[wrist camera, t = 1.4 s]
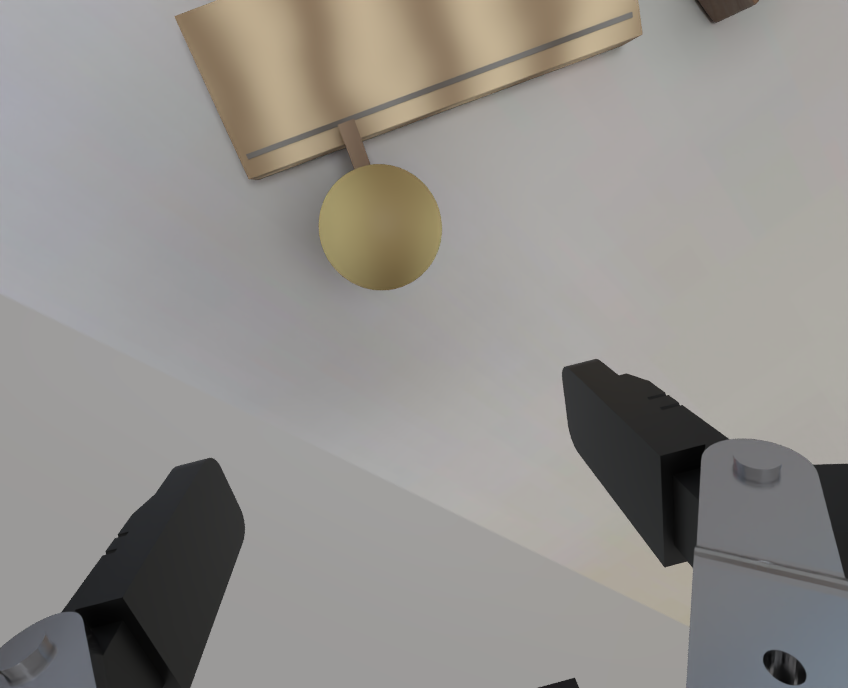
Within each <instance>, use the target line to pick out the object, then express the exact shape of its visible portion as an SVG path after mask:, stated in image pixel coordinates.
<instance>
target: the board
mask: <svg viewBox="0 0 848 688" xmlns="http://www.w3.org/2000/svg"><path fill="white" fill-rule="evenodd" d="M175 19H176V21H177V23H178V25H179V27H180V30H181V32H182V34H183V36H184V38H185V41H186V43H187V45H188V47H189V49H190V52H191V54H192V56H193V58H194V60H195V62H196V65H197V67H198V69H199V71H200V73H201V76H202V78H203V80H204V82H205V84H206V87H207V89H208V91H209V93H210V95H211V98H212V100H213V102H214V104H215V106H216V108H217V111H218V113H219V115H220V117H221V119H222V122H223V124H224V126H225V128H226V130H227V133H228V135H229V137H230V139H231V141H232V144H233V146H234V148H235V150H236V152H237V154H238V157H239V159H240V161H241V163H242V165H243V168H244V170H245V172H246V174H247V176H248V179H256V180H259V179H261V178H264V177H267V176H270V175H272V174H275V173H278V172H280V171H283V170H286V169H289V168H291V167H294V166H297V165H299V164H302V163H305V162H308V161H310V160H313V159H316V158H318V157H321V156H324V155H327V154H329V153H332V152H335V151H337V150H340V149H343V148H346V146H345V143H344V140H343V138H342V135H341V132H340V129H339V127H338V124H341V123H344V122H346V121H349V120H352V119H354V120H355V123H356V126H357V128H358V131H359V134H360V137H361V140H362V141H365V140H367V139H370V138H373V137H375V136H378V135H381V134H384V133H386V132H389V131H392V130H394V129H397V128H400V127H403V126H405V125H408V124H411V123H413V122H416V121H419V120H422V119H424V118H427V117H430V116H432V115H435V114H438V113H441V112H443V111H446V110H449V109H451V108H454V107H457V106H460V105H462V104H465V103H468V102H470V101H473V100H476V99H479V98H481V97H484V96H487V95H489V94H492V93H495V92H498V91H500V90H503V89H506V88H508V87H511V86H514V85H517V84H519V83H522V82H525V81H527V80H530V79H533V78H536V77H538V76H541V75H544V74H546V73H549V72H552V71H555V70H557V69H560V68H563V67H565V66H568V65H571V64H574V63H576V62H579V61H582V60H584V59H587V58H590V57H593V56H595V55H598V54H601V53H603V52H606V51H609V50H612V49H614V48H617V47H620V46H622V45H624V44H626V43H628V42H629V41H631V40H633V39H635V38H637V37H638V36H640V35H642V26H641V19H640V11H639V4H638V0H217V1H214V2H211V3H209V4H206V5H203V6H201V7H198V8H195V9H193V10H190V11H187V12H185V13H182V14H180V15H177V16H175Z"/></svg>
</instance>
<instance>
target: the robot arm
mask: <svg viewBox="0 0 848 688" xmlns="http://www.w3.org/2000/svg"><path fill="white" fill-rule="evenodd" d="M562 380H563V388H564V396H565V404H566V412H567V420H568V427H569V432H570V435H571V439H572V441H573V444H574V446H575V448H576V450H577V452H578V453H579V454H580V456H581V457H582V458H583V460H584V461H585V462H586V464H587V465H588V466H589V468H590V469H591V470H592V472H593V473H594V474H595V476H596V477H597V478H598V480H599V481H600V482H601V484H602V485H603V486H604V488H605V489H606V490H607V492H608V493H609V494H610V496H611V497H612V498H613V500H614V501H615V502H616V504H617V505H618V506H619V507H620V509H621V510H622V511H623V513H624V514H625V515H626V517H627V518H628V519H629V521H630V522H631V523H632V525H633V526H634V527H635V529H636V530H637V531H638V533H639V534H640V535H641V537H642V538H643V539H644V541H645V542H646V543H647V545H648V546H649V547H650V549H651V550H652V551H653V553H654V554H655V555H656V557H657V558H658V559H659V561H660V562H661V563H662V564H663V566H664V567H668V566H671V565H675V564H679V563H683V562H687V561H688V563H689V564H690V565H691V566H692V567H693V580H692V597H691V614H690V631H689V632H690V633H689V649H688V666H687V683H686V688H848V464H822V465H813V464H812V463H811V462H810V461H809V460H807V459H806V458H805V457H804V456H802V455H801V454H799V453H797V452H795V451H793V450H792V449H789V448H787V447H784V446H782V445H779V444H776V443H772V442H768V441H763V440H756V439H728V438H727V437H726V436H724V435H723V434H721V433H720V432H719V431H717V430H716V429H715V428H713V427H712V426H710V425H709V424H708V423H706V422H705V421H703V420H702V419H701V418H699V417H698V416H697V415H695V414H694V413H692V412H691V411H690V410H688V409H687V408H686V407H684V406H683V405H681V406H680V405H679V402H677V401H676V400H675V399H673V398H672V397H670V396H669V395H667V396H666V394H665V392H663V391H662V390H661V389H659V388H658V387H657V386H655V385H654V384H652V383H651V382H650V381H647V380H644V379H641V378H638V377H635V376H632V375H629V374H623V375H618V374H616V373H615V372H614V371H613V370H611V369H610V368H609V367H607V366H606V365H605V364H604V363H602V362H601V361H600V360H598V359H594V360H590V361H586V362H582V363H578V364H574V365H570V366H566V367H564V368H563V371H562ZM244 534H245V524H244V519H243V515H242V511H241V509H240V507H239V505H238V503H237V501H236V498H235V496H234V494H233V492H232V490H231V488H230V486H229V484H228V481H227V479H226V477H225V475H224V473H223V471H222V469H221V467H220V465H219V463H218V462H217V461H216V460H215V459H213V458H207V459H204V460H200V461H196V462H192V463H188V464H184V465H180V466H177V467H175V468H173V470H172V471H171V472H170V474H169V475H168V476H167V478H166V479H165V481H164V482H163V484H162V485H161V487H160V488H159V489H158V491H157V492H156V494H155V495H154V496H152V497H151V498H150V499H149V500H148V501H147V502H146V503H145V504H143V506H141V507H140V508H139V509H138V510H137V511H136V512H134V513H133V514H132V516H131V517H130V518H129V520H128V521H127V523H126V524H125V525H124V527H123V528H122V529H121V531H120V532H119V534H118V538H115V539H114V540H113V542H112V543H111V545H110V546H109V547H108V549H107V550H106V555H104V556H102V557H101V559H100V560H99V561H98V563H97V564H96V565H95V567H94V568H93V569H92V571H91V572H90V574H89V575H88V576H87V578H86V579H85V580H84V582H83V583H82V585H81V586H80V587H79V589H78V590H77V592H76V593H75V595H74V596H73V597H72V598H71V600H70V601H69V603H68V604H67V606H66V607H65V608H64V609H63V611H62V612H61V613H58V614H55V615H52V616H49V617H47V618H45V619H43V620H40V621H38V622H36V623H35V624H33V625H31V626H30V627H28V628H26V629H25V630H23V631H22V632H20V633H19V634H17V635H16V636H14V637H13V638H12V639H10V640H9V641H8V642H7V643H5V644H4V645H3V646H2V647H1V648H0V688H190V687H191V684H192V681H193V679H194V676H195V673H196V670H197V667H198V665H199V662H200V659H201V656H202V654H203V651H204V648H205V645H206V643H207V640H208V637H209V634H210V632H211V628H212V626H213V623H214V620H215V617H216V615H217V612H218V609H219V606H220V604H221V601H222V598H223V595H224V593H225V590H226V587H227V584H228V582H229V579H230V576H231V574H232V571H233V568H234V565H235V562H236V560H237V557H238V554H239V551H240V549H241V546H242V543H243V540H244ZM539 688H579V687H578V684H577V682H576V679H575V678H572V679H569V680H565V681H561V682H558V683H554V684H550V685H547V686H543V687H539Z"/></svg>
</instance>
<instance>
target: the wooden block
mask: <svg viewBox="0 0 848 688" xmlns="http://www.w3.org/2000/svg"><path fill="white" fill-rule="evenodd" d="M698 1H699V3H700V4H701V5H702V7H703V8H704V10H705V11H706V12H707V14H708V15H709V17H710V18H711V19H712V21H714V22H719V21H721V20H723V19H725V18H727V17H730V16H732V15H734V14H736V13H738V12H740V11H742V10H745V9H747V8H749V7H751V6H753V5H755V4H756V3H757V2H758V1H759V0H698Z"/></svg>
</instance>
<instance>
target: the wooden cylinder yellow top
mask: <svg viewBox="0 0 848 688" xmlns="http://www.w3.org/2000/svg"><path fill="white" fill-rule="evenodd" d="M338 127H339V129H340V132H341V135H342V138H343V140H344V143H345V146H346V148H347V151H348V154H349V156H350V159H351V162H352V165H353V167H354V170H352V171H350V172H349V173H347V174H346V175H344V176H343V177H341V178H340V179H339V180H338V181H337V182H336V183H335V184H334V185H333V186H332V188H331V189H330V191H329V192H328V194H327V195H326V197H325V199H324V201H323V204H322V207H321V211H320V216H319V236H320V241H321V245H322V247H323V250H324V253H325V255H326V257H327V259H328V260H329V262H330V263H331V265H332V266H333V267H334V268H335V269H336V270H337V272H339V273H340V274H341V275H342V276H343V277H344V278H346V279H347V280H349V281H350V282H352V283H354V284H356V285H358V286H361V287H364V288H368V289H372V290H391V289H396V288H399V287H403V286H405V285H407V284H409V283H411V282H413V281H414V280H416V279H417V278H418V277H420V276H421V275H422V274H423V273H424V272H425V271H426V270H427V269H428V267H429V266H430V265H431V263H432V262H433V260H434V258H435V257H436V254H437V252H438V249H439V246H440V242H441V235H442V223H441V216H440V212H439V208H438V206H437V203H436V201H435V199H434V197H433V195H432V193H431V192H430V191H429V189H428V188H427V187H426V186H425V185H424V184H423V182H422V181H421V180H419V179H418V178H417V177H416V176H414V175H413V174H411V173H409V172H408V171H406V170H403V169H401V168H398V167H395V166H391V165H384V164H373V165H370V162H369V159H368V157H367V154H366V151H365V148H364V145H363V142H362V140H361V137H360V134H359V131H358V128H357V126H356V123H355V120H354V119H352V120H349V121H346V122H344V123H341V124H338Z"/></svg>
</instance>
